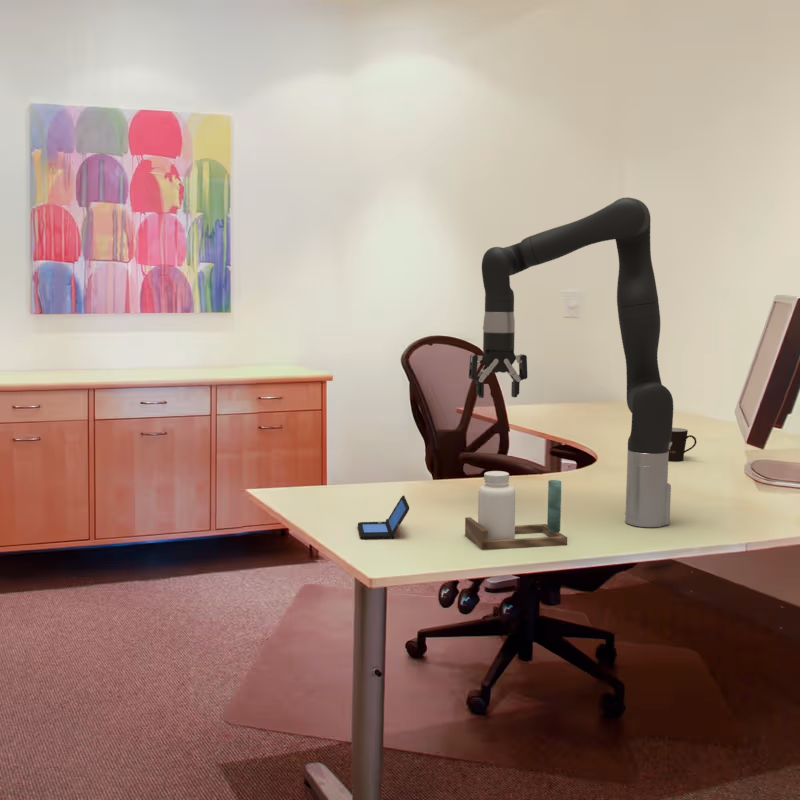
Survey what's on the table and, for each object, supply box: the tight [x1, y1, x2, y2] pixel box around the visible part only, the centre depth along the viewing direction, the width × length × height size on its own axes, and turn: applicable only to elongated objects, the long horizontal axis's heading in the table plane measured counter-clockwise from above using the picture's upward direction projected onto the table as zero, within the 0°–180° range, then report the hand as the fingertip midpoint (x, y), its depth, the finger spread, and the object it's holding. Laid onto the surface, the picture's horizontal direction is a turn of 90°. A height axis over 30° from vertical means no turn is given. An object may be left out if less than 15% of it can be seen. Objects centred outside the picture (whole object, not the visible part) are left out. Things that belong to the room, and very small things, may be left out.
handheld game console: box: [357, 495, 410, 541], centre depth 210 cm, size 12×11×7 cm
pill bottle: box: [477, 470, 516, 540], centre depth 203 cm, size 8×8×15 cm
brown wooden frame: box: [464, 479, 568, 551], centre depth 204 cm, size 20×12×13 cm, turn 103°
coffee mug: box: [668, 427, 697, 463], centre depth 304 cm, size 12×9×10 cm
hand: (497, 397), depth 230 cm, fingers open, 8 cm apart
